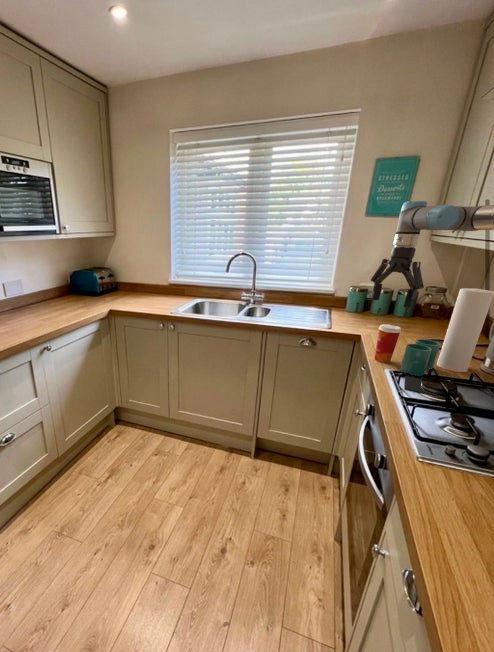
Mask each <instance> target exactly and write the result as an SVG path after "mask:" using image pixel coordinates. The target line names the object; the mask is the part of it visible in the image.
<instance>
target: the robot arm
mask: <svg viewBox="0 0 494 652" xmlns="http://www.w3.org/2000/svg"><path fill="white" fill-rule="evenodd" d="M423 230H424V231H459V232H461V231H463V232H465V231H466V232H477V231H494V204H486V205H475V206H474V205H473V206H460V205H453V204H439V205H429V206H428V202H427V201H426V200H407V201H405V202H403V204H402V206H401V209H400V212H399V217H398V222H397V226H396V230H395V235H394V239H393V243H392V246H393V247H392V248H391V252H390V258H383V259H382V260H381V263H380V265H379V266H378V268H377V269H376V271H375V273H374V274H373V276H372V277H371V278H370V282H373V283H374V284H373V290H372V291H373V295H372V301H379V300H380V297H381V292H382V289H383V283H382V282H384V280H386V279H387V278H388V277H389V276H391V274H392V273H398V274H401V275H403V277H404V278H405V280H406V282H407V285H408V287H409V289H407V292H406V296H405V299H404V302H403V303H404V304H403V308H411V307H412V302H413V300H414V299H415V298H416V295H417V292H418V290H421V289H425V285H424V280H423V277H422V276H423V275H422V271H421V265H422V264H421V261H413V259H414V258H415V254H416V251H417V248H416V247H417V246H418V242H419V239H420V234H421V231H423Z"/></svg>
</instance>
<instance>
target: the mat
mask: <svg viewBox="0 0 494 652" xmlns="http://www.w3.org/2000/svg"><path fill="white" fill-rule="evenodd" d="M421 379H422V378H420V377H414V376H409V375H404V386H403V387H404V388H403V389H404V390H405V391H410V392H415V393H418V394H423V395H427V396H431V395H432V396H433V397H436V396H440V395H437V394H434V393H431V392H428V391H425V390H423V389H422V388H421ZM432 396H431V397H432Z"/></svg>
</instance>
